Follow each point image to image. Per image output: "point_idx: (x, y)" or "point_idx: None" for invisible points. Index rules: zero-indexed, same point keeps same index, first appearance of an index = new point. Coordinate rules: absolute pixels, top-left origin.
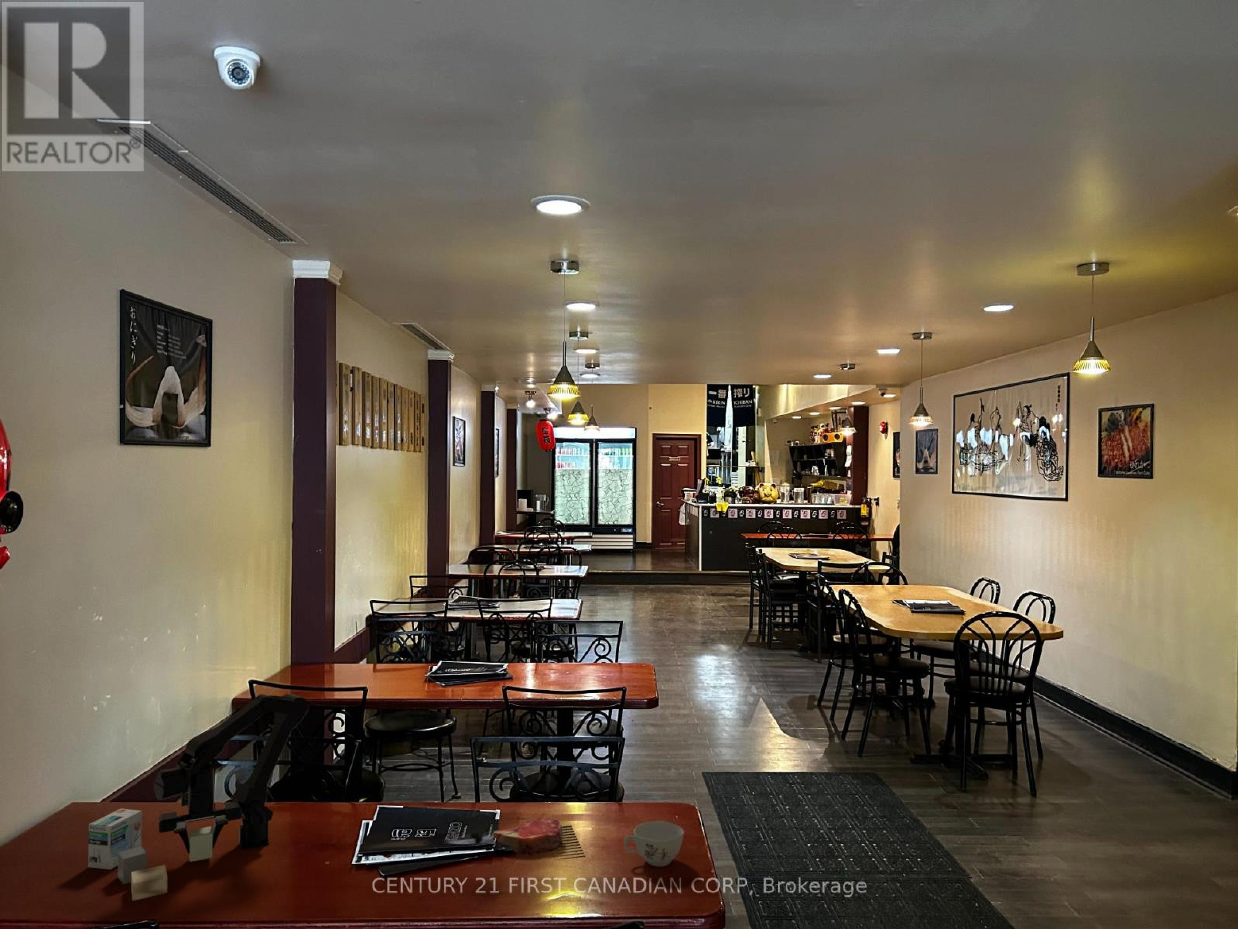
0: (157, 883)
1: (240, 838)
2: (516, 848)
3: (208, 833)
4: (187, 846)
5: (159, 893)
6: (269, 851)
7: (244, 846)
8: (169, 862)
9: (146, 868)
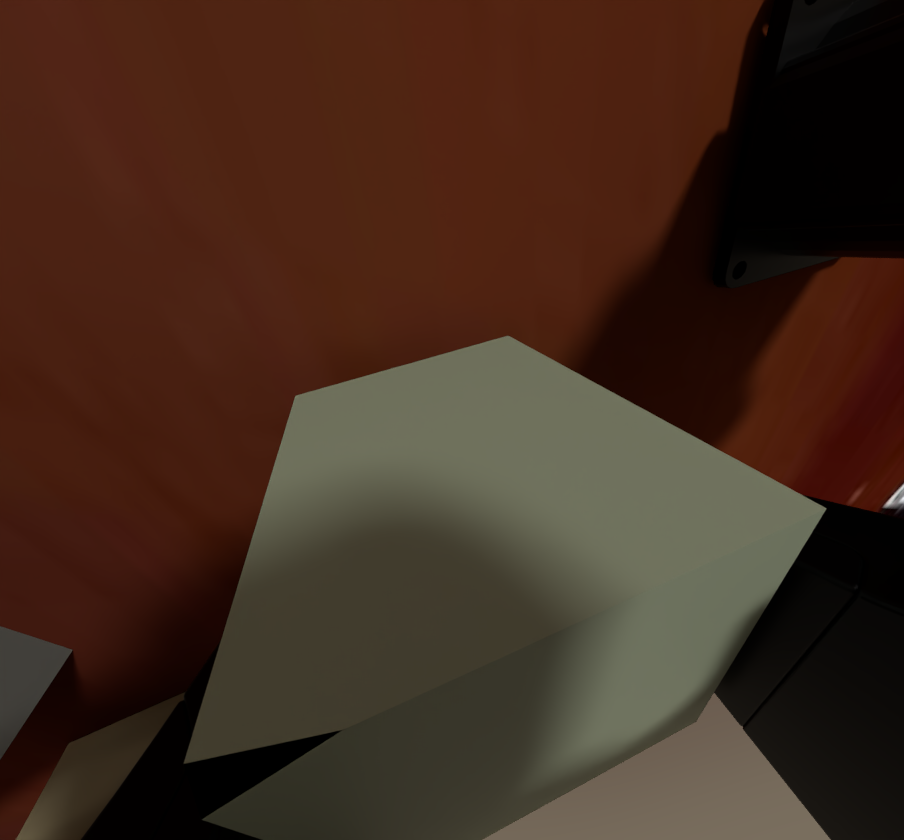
0: None
1: (806, 212)
2: None
3: (658, 737)
4: None
5: None
6: (796, 360)
7: (738, 260)
8: (91, 417)
9: (5, 749)
